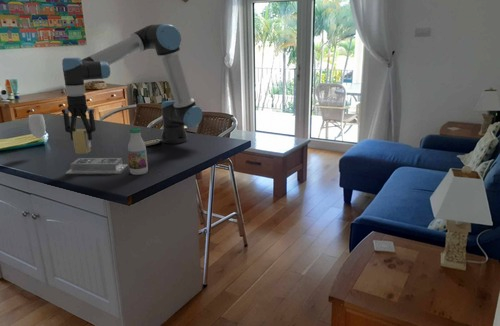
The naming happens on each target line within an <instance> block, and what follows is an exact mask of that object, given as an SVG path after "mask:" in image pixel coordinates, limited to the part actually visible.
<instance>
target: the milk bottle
mask: <svg viewBox="0 0 500 326" xmlns="http://www.w3.org/2000/svg"><path fill="white" fill-rule="evenodd" d="M129 135H130V138H129V141H128V145H127V156H128V167H129V172H130V175H134V176H139V175H141V176H142V175H145V174H147V173H148V172H149V166H148V155H147V147H146V143H145V141H144V140H143V138H142V136H141V135H142V131H141V128H140V127H131V128H129Z"/></svg>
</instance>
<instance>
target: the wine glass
mask: <svg viewBox="0 0 500 326" xmlns="http://www.w3.org/2000/svg"><path fill="white" fill-rule="evenodd" d="M45 122H46V121H45V118H44V115H43V114H42V113H35V114H34V113H33V114H29V115H28V126H29V127H28V128H29V130H30V133H31V135H32V136H33V137H35V138H37V139H41V138H43V137H44V136H45V135H46V123H45Z"/></svg>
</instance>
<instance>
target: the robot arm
mask: <svg viewBox="0 0 500 326" xmlns="http://www.w3.org/2000/svg"><path fill="white" fill-rule="evenodd" d="M181 42H182V35H181V32H180V31H179V29H178V28H177V27H176V26H174V25H172V24H168V23H159V24H149V25H147V26H144V27H143V28H141V29H138V30H137V31H135V32H132V33H131V34H130V36H129V37H127V38H125V39H123V40H121V41H118V42H117V43H113V45H110V46H108V47H106V48H104V49H102V50H99V51H97V52H95V53H92V54H91V55H89V56H87V57H84V58H82V59H81V58H80V57H64V58H63V59H62V60H61V62H62V63H61V64H62V65H61V66H62V71H63V79H64V80H63V81H64V85H65V95H67V96H66V100H67V108H64V109H61V113H62V115H63V122H64V129H65V132H66V133H69V134H70V141H73V143H74V139H73V131H74V130H76V125H77V117H79V118H80V119H81V121H82V124H83V126H84V129H86V131H87V133H86V134H85V135H86V143H87V148H90V147H92V143H91V142H92V140H93V135H92V133H93V132H95V131H96V122H95V117H94V116H95V115H94V114H95V109H94V108H90V107H88V105H87V96H86V89H85V81H89V80H103V79H109V78H110V76H111V68H110V65H113V64H115V63H116V62H120V61H121V60H123V59H125V58H127V57H129V56H131V55H133V54H135V53H137V52H140V53H142V52H144V51H146V50H155V51H156V52H155V53H156V56H158V57H160V59H161V62H162V64H163V67H164V71H165V73H166V76H167V80H168V82H169V87H170V89H171V93H172V96H173V99H174V100H165V101H162V102H161V114H162V115H161V116H162V117H161V118H162V131H161V136H160V141H162V142H161V143H163V144H169V145H170V144H172V145H173V144H175V145H176V144H181V143H185V142H187V141H188V140H189V139H188V137H189V136H188V134H187V131H186V128H187V127H188V128H194V127H197V126H198V125H199V124H200V123H201V121H202V119H203V109H202V108H201V107H199V106H198V105H197V104H196V103H197V102H196V101H195V99H194V98H193V97H192V96H191V94H190V89H189V86H188V82H187V80H186V76H185V72H184V69H183V66H182V61H181V59H180V55H179V52H180V51H181V47H180V46H181ZM69 113H70V114H71V116H70V115H69ZM86 113H88V116H87V114H86ZM70 119H71V120H70ZM185 127H186V128H185ZM73 148H74V149H75V146H74V145H73Z"/></svg>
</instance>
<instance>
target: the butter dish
mask: <svg viewBox="0 0 500 326" xmlns="http://www.w3.org/2000/svg"><path fill="white" fill-rule="evenodd" d="M127 167H129V163H127V164H126V163H124V164H123V158H122V157H88V158H87V157H78V158H76V159H75V160H74V161H73V162H72V163H70V169H68V170H66V172H65V175H120V174H122V172H123V171H124V170H125V169H127Z"/></svg>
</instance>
